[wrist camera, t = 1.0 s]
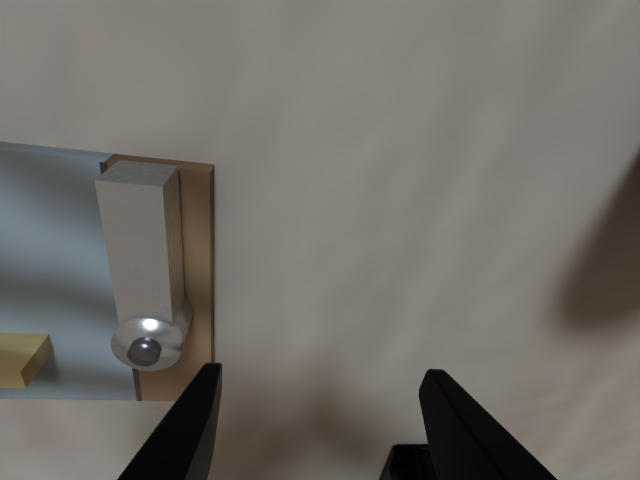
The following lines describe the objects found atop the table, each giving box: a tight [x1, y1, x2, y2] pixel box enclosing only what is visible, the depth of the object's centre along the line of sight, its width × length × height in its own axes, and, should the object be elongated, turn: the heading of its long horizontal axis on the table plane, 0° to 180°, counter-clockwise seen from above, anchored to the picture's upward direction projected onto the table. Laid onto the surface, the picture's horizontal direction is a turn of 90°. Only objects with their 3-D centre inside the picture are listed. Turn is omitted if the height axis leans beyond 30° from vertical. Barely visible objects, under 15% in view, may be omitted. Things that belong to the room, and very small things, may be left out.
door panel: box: [0, 142, 214, 401], centre depth 19 cm, size 16×14×4 cm
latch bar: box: [95, 160, 193, 371], centre depth 17 cm, size 10×3×3 cm, turn 172°
